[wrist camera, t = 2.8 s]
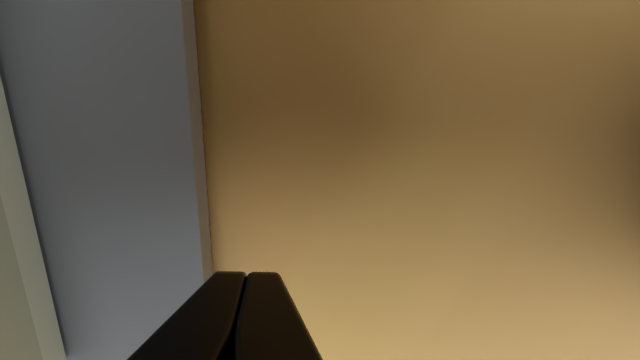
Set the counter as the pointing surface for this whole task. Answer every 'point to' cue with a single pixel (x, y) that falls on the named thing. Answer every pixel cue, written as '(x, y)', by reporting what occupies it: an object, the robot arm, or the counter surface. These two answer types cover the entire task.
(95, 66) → the board
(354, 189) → the counter surface
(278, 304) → the robot arm
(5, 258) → the panel
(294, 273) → the counter surface
